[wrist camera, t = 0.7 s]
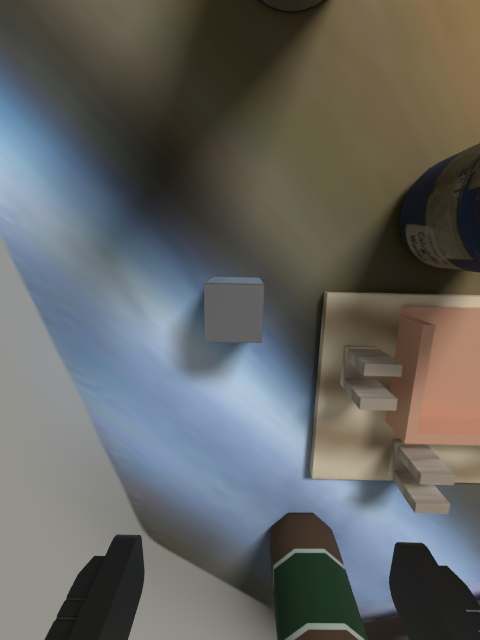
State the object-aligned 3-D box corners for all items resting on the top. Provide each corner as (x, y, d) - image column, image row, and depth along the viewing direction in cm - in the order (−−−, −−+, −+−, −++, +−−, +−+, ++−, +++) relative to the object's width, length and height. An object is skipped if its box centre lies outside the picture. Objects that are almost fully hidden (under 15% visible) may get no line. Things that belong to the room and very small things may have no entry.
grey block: (213, 276, 28) (204, 283, 21) (259, 277, 28) (264, 285, 21) (213, 321, 29) (204, 341, 22) (257, 322, 29) (262, 342, 22)
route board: (324, 291, 28) (345, 301, 22) (563, 296, 28) (651, 307, 22) (309, 470, 33) (324, 519, 27) (517, 476, 32) (580, 526, 26)
